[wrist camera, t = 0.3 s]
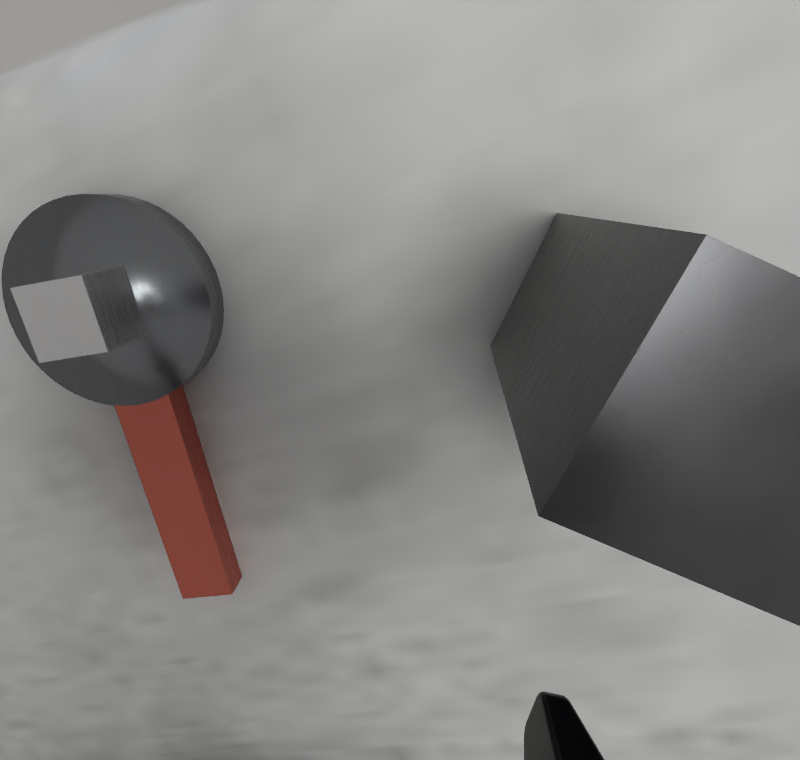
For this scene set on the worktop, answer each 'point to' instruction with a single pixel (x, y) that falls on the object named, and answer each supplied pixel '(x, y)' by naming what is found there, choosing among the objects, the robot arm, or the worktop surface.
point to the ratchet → (131, 351)
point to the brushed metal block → (662, 402)
